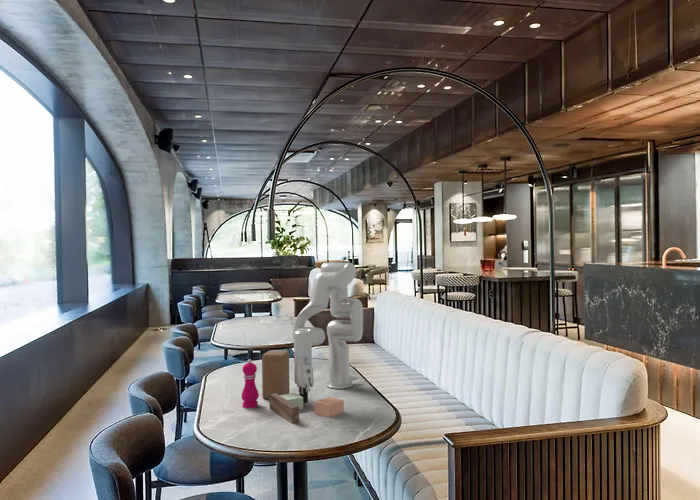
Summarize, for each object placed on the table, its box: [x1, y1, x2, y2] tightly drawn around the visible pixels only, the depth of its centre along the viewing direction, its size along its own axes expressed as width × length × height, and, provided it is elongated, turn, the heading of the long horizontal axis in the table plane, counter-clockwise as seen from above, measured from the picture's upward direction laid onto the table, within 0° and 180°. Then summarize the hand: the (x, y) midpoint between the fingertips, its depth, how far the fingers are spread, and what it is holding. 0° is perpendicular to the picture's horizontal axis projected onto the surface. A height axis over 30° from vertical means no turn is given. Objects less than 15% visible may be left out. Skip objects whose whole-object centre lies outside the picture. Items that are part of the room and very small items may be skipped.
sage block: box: [280, 392, 304, 410], centre depth 229 cm, size 9×8×5 cm
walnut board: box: [269, 393, 300, 424], centre depth 219 cm, size 3×22×6 cm, turn 31°
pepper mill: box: [241, 358, 260, 409], centre depth 232 cm, size 7×7×20 cm
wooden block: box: [261, 350, 291, 400], centre depth 246 cm, size 10×10×20 cm
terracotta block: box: [313, 396, 345, 418], centre depth 222 cm, size 9×8×5 cm
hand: (303, 402), depth 232 cm, fingers closed
